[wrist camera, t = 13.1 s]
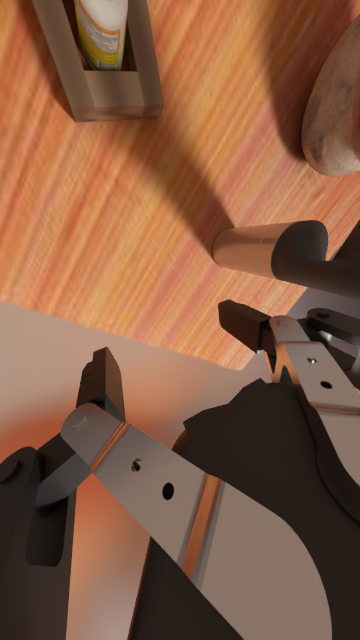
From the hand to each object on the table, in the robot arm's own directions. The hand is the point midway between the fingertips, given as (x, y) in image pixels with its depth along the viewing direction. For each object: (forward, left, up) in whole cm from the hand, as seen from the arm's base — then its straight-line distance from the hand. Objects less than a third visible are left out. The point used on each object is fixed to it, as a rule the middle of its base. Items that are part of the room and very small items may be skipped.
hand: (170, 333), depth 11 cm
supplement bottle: (+11, -27, -28) cm, 40 cm away
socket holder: (+11, -27, -28) cm, 40 cm away
